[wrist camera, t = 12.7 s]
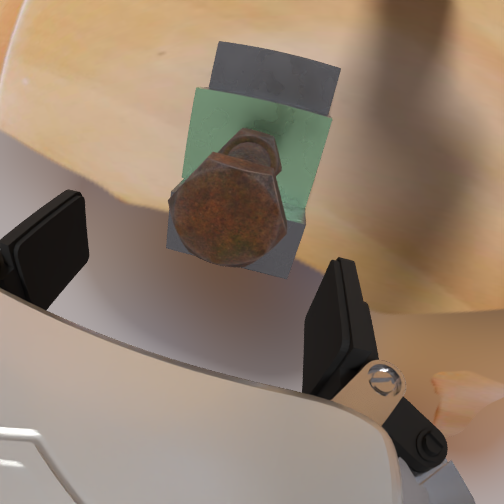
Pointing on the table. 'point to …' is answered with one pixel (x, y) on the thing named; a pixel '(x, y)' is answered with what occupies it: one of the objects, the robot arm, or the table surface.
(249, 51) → the stepped stand
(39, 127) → the table surface
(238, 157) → the bolt
